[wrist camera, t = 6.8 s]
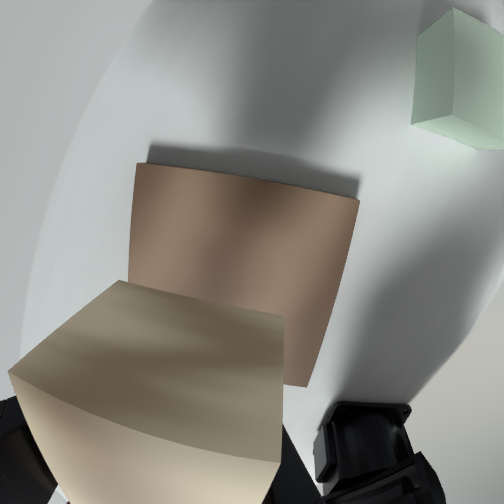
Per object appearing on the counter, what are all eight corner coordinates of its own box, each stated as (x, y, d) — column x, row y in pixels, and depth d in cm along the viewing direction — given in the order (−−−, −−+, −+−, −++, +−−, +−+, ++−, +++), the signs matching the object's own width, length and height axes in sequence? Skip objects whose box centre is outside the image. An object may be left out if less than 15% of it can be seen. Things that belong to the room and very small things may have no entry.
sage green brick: (480, 66, 13) (525, 49, 8) (476, 149, 15) (525, 150, 10) (416, 37, 13) (453, 6, 9) (409, 124, 15) (452, 114, 10)
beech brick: (284, 315, 9) (281, 463, 4) (249, 446, 10) (231, 557, 6) (118, 279, 9) (7, 371, 4) (126, 415, 11) (73, 507, 6)
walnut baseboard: (354, 198, 16) (360, 200, 15) (305, 376, 20) (306, 387, 19) (145, 162, 17) (136, 162, 16) (135, 340, 20) (128, 348, 19)
